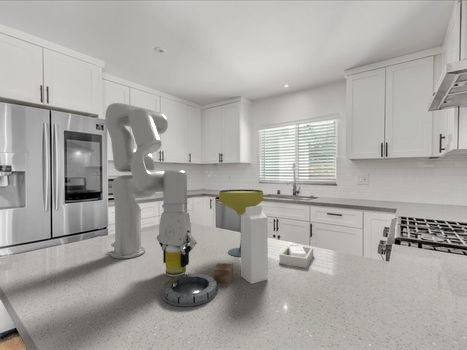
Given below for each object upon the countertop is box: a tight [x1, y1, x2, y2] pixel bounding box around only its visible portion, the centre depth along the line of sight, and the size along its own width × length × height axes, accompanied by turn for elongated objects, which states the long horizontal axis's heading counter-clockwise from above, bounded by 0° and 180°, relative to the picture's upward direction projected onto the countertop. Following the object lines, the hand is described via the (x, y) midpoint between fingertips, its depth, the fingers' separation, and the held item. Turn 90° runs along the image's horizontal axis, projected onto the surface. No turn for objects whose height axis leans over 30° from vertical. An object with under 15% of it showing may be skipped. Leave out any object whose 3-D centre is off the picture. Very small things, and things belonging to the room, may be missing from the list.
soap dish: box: [279, 244, 314, 269], centre depth 90 cm, size 9×13×3 cm
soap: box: [289, 245, 307, 258], centre depth 90 cm, size 9×6×3 cm, turn 174°
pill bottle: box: [165, 245, 187, 277], centre depth 78 cm, size 6×6×12 cm
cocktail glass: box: [218, 189, 265, 258], centre depth 98 cm, size 18×18×25 cm
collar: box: [161, 273, 218, 308], centre depth 65 cm, size 15×15×2 cm
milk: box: [240, 205, 269, 285], centre depth 74 cm, size 6×6×22 cm
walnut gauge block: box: [213, 262, 234, 284], centre depth 73 cm, size 5×5×4 cm
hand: (176, 263), depth 78 cm, fingers closed on pill bottle, 6 cm apart
